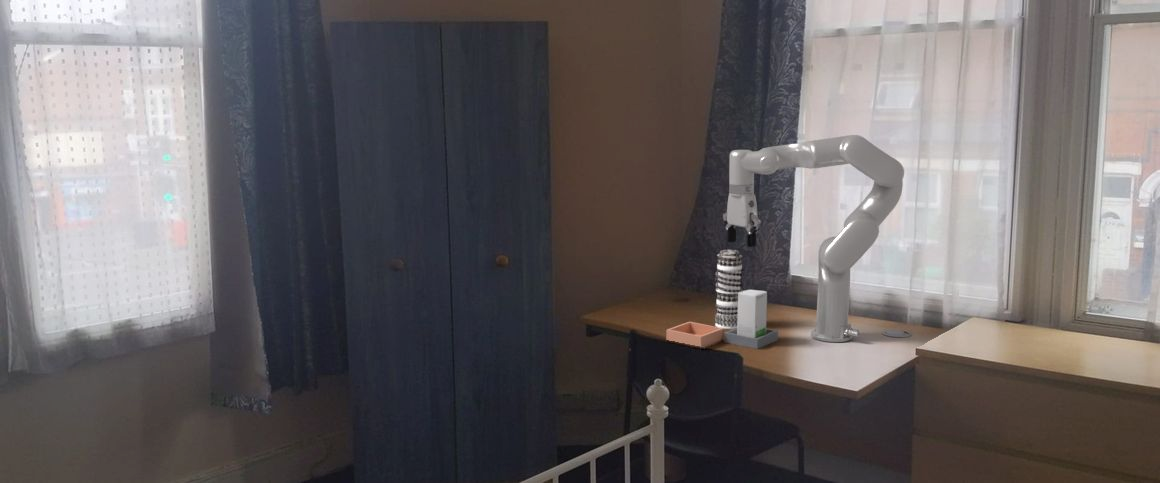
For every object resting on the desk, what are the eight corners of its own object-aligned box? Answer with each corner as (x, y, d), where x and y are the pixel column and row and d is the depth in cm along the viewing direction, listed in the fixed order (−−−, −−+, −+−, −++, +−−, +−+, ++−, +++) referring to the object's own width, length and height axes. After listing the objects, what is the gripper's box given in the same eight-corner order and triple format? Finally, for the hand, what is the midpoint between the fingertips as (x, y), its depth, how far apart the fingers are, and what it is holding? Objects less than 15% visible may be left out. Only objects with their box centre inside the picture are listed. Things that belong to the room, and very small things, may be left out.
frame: (777, 340, 286) (778, 330, 285) (757, 349, 276) (757, 339, 276) (745, 333, 293) (745, 324, 293) (723, 342, 284) (724, 332, 283)
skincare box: (754, 346, 279) (756, 296, 277) (735, 342, 283) (736, 293, 281) (766, 339, 286) (768, 290, 283) (747, 336, 290) (748, 288, 287)
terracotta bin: (723, 340, 285) (723, 328, 284) (700, 349, 276) (701, 336, 275) (689, 333, 293) (689, 321, 293) (666, 342, 284) (666, 329, 283)
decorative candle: (741, 330, 297) (743, 253, 293) (712, 328, 299) (714, 252, 295) (743, 322, 306) (745, 248, 302) (715, 321, 308) (716, 247, 304)
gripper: (769, 191, 280) (768, 246, 283) (733, 186, 295) (733, 239, 298) (749, 193, 277) (749, 249, 280) (714, 188, 292) (714, 241, 295)
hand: (741, 244), depth 289 cm, fingers open, 9 cm apart
